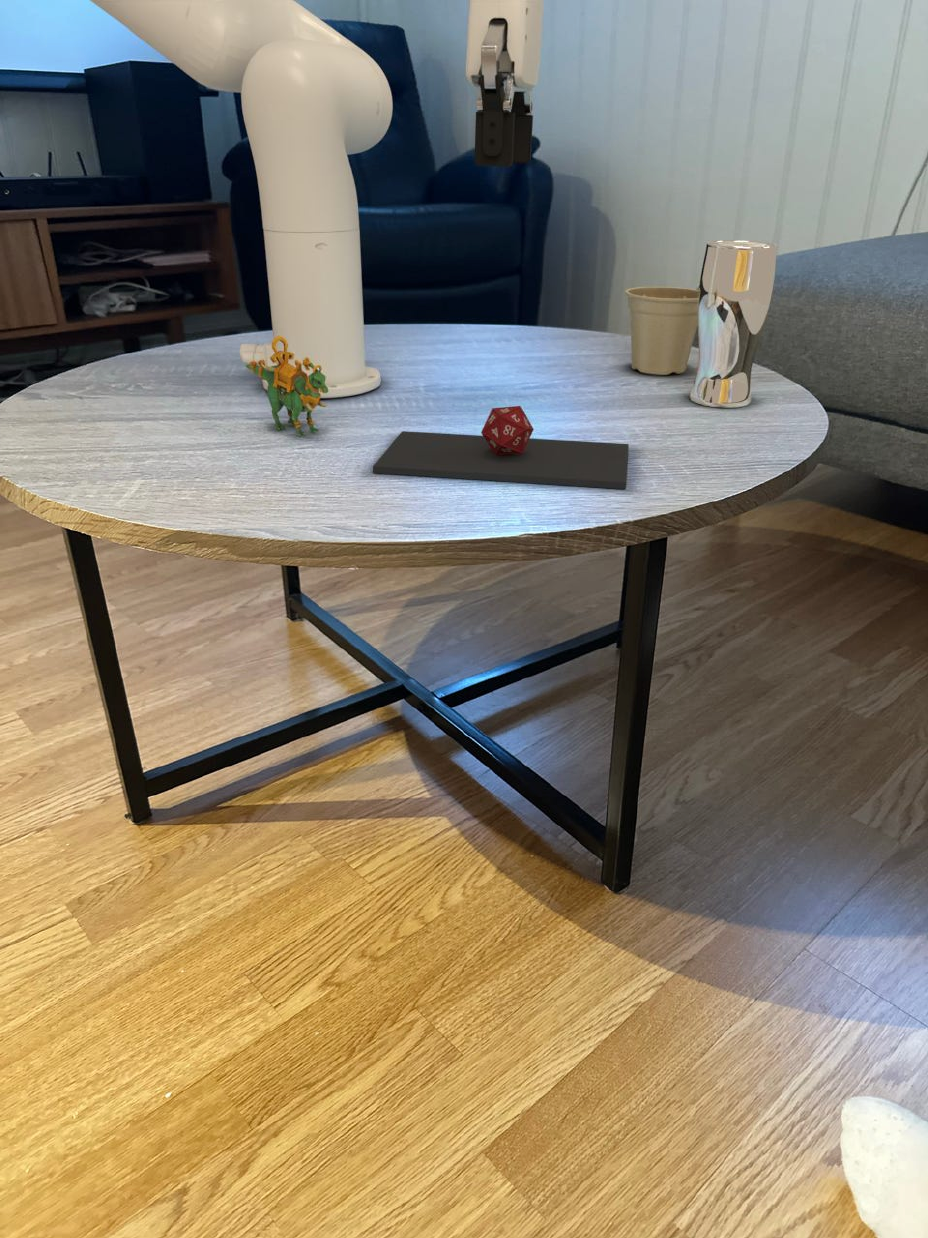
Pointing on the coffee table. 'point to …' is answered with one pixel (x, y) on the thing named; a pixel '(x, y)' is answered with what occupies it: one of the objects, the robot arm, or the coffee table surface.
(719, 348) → the beer glass
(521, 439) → the dice
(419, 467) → the mat
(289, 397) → the figurine
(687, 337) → the flower pot
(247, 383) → the coffee table surface
